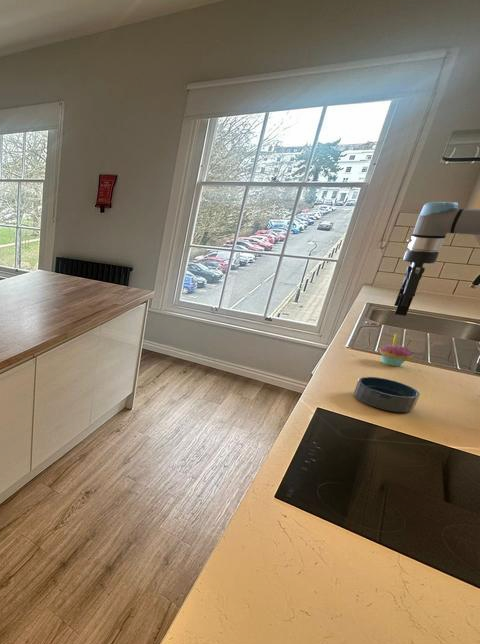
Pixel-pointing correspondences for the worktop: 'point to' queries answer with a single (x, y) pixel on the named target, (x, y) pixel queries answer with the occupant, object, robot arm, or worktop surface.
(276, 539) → the worktop surface
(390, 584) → the worktop surface
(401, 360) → the cupcake
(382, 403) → the bowl
